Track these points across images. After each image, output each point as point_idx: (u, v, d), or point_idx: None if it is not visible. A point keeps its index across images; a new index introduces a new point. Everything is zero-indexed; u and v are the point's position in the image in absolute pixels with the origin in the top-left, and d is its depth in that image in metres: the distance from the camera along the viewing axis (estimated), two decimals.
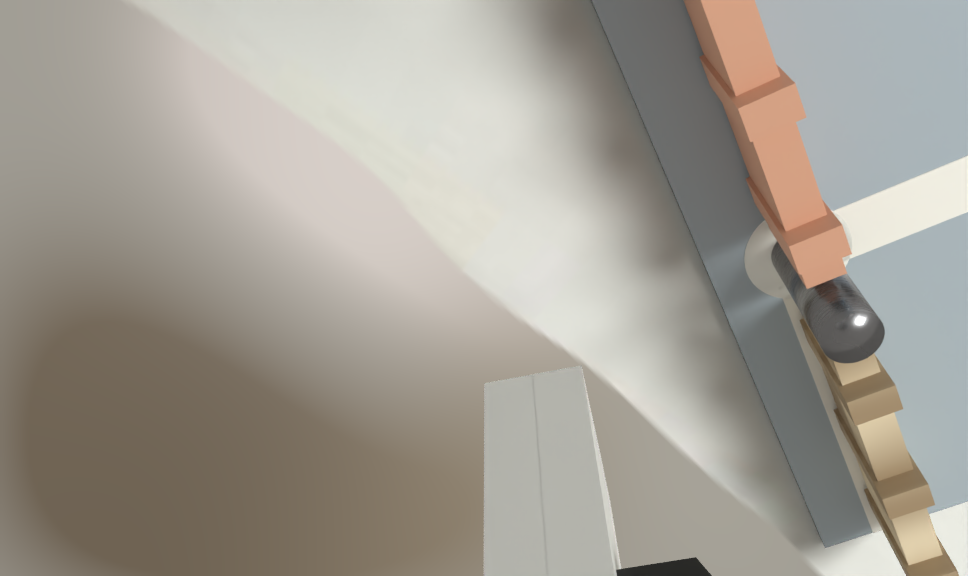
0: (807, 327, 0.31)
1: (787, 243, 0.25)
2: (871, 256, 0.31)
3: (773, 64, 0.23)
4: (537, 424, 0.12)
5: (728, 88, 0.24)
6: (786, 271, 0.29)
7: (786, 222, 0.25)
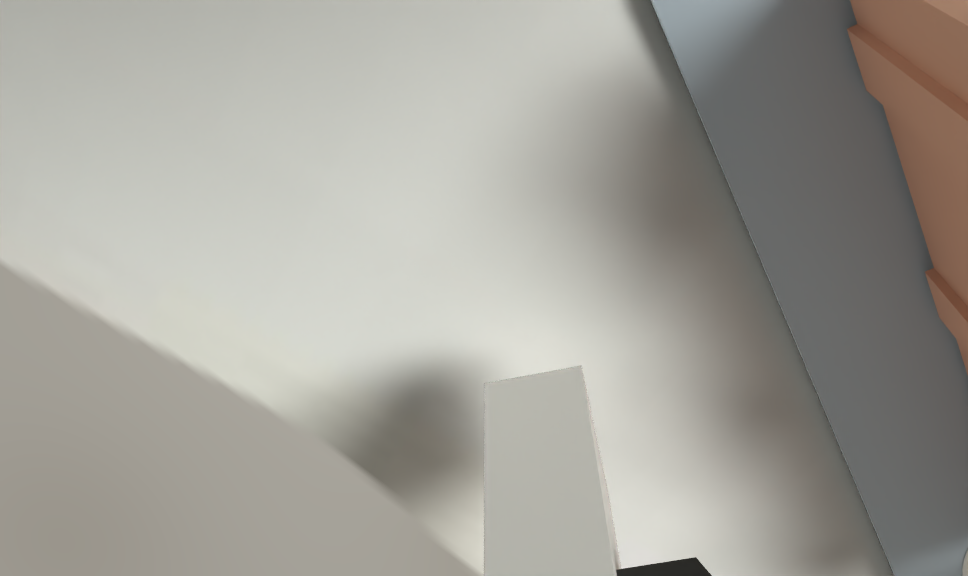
0: None
1: None
2: None
3: None
4: (537, 424, 0.12)
5: None
6: None
7: None
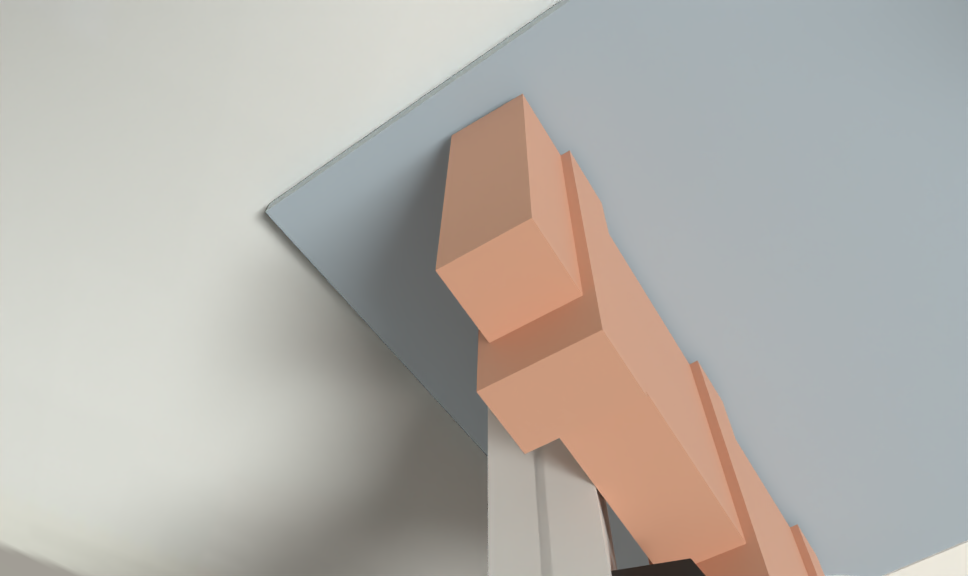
0: None
1: None
2: None
3: (729, 527, 0.12)
4: None
5: None
6: None
7: None
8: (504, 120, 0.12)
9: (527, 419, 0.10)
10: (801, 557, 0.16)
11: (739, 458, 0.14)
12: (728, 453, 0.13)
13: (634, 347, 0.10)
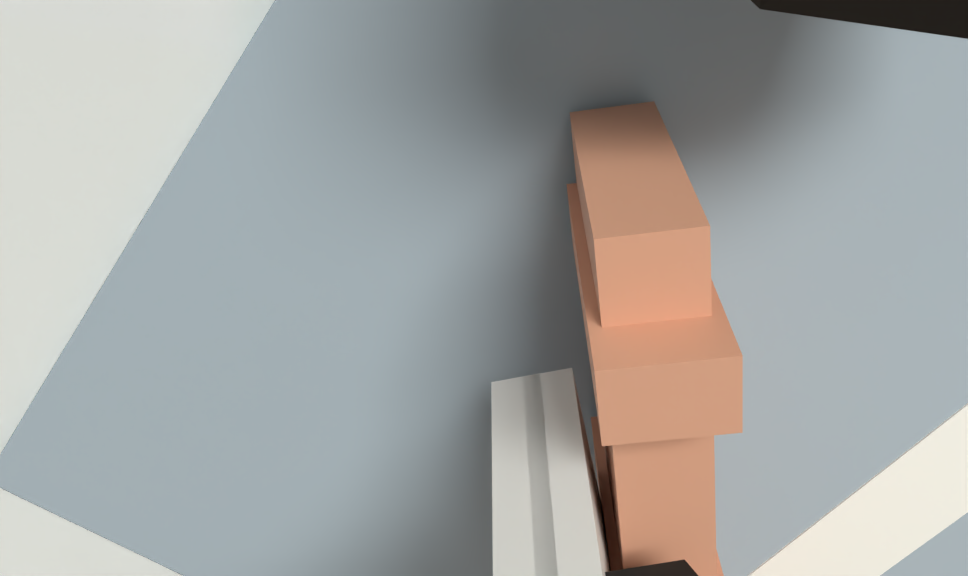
0: None
1: None
2: None
3: (711, 575, 0.12)
4: (527, 426, 0.12)
5: (618, 561, 0.13)
6: None
7: None
8: (638, 119, 0.12)
9: (624, 414, 0.10)
10: None
11: None
12: None
13: None
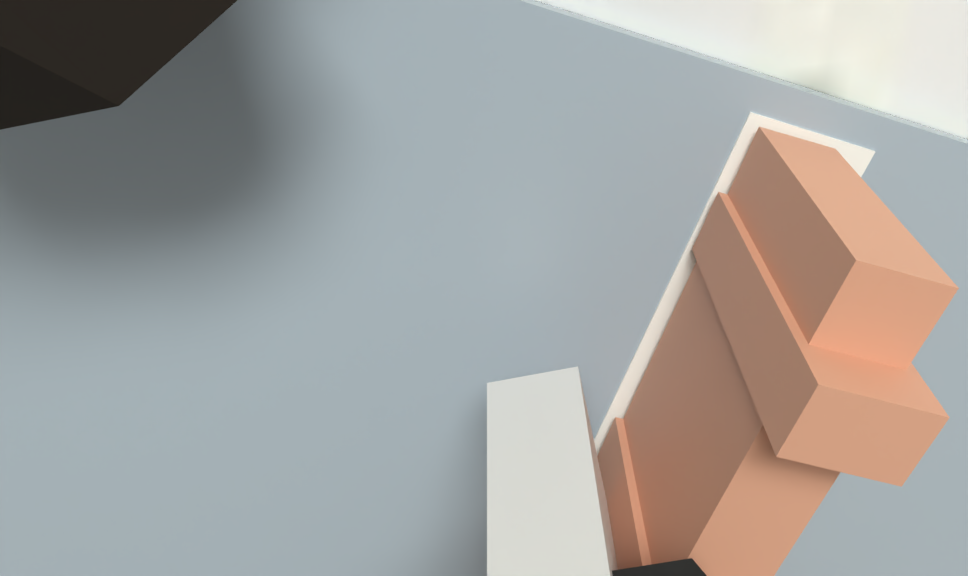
0: None
1: None
2: None
3: None
4: (533, 425, 0.12)
5: None
6: None
7: None
8: (830, 160, 0.12)
9: (815, 433, 0.10)
10: None
11: None
12: None
13: None
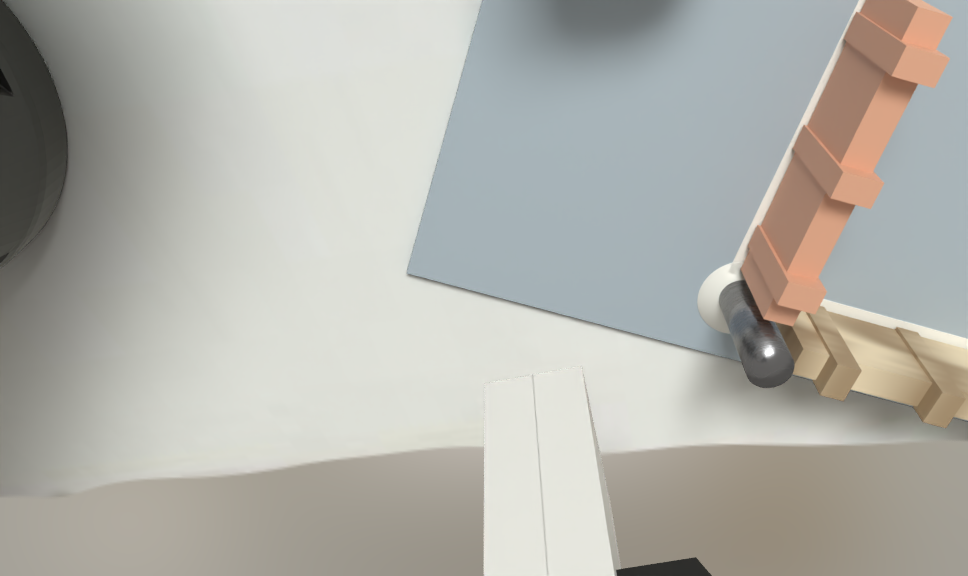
0: None
1: (787, 279, 0.33)
2: None
3: (875, 162, 0.31)
4: (537, 424, 0.12)
5: (833, 156, 0.32)
6: None
7: (792, 266, 0.33)
8: None
9: (904, 66, 0.29)
10: None
11: None
12: None
13: None
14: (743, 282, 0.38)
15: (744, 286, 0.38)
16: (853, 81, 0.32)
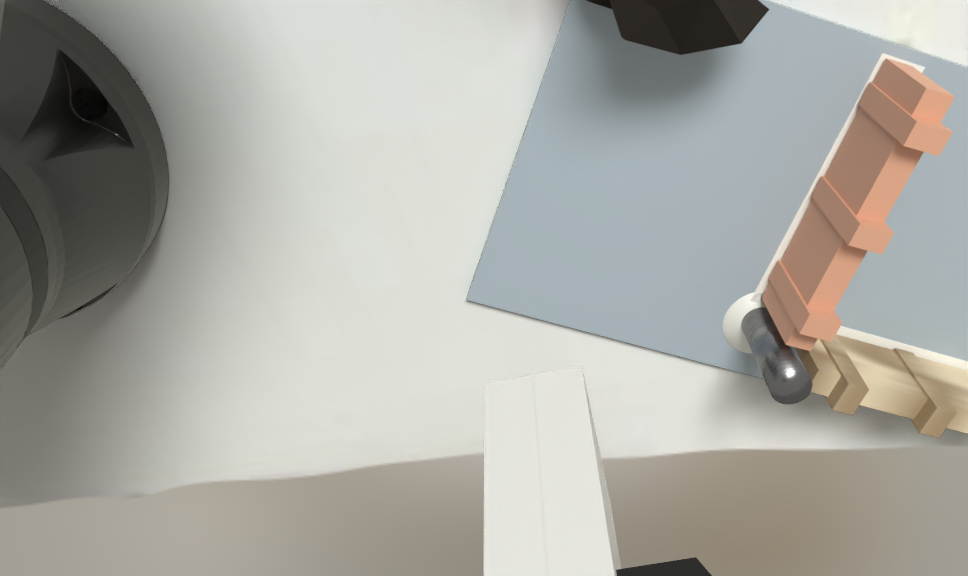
0: None
1: (808, 312, 0.38)
2: None
3: (886, 214, 0.36)
4: (537, 424, 0.12)
5: (849, 208, 0.37)
6: (751, 350, 0.43)
7: (812, 300, 0.38)
8: (911, 68, 0.37)
9: (914, 138, 0.34)
10: None
11: None
12: None
13: None
14: (763, 309, 0.43)
15: (765, 312, 0.43)
16: (867, 144, 0.37)
